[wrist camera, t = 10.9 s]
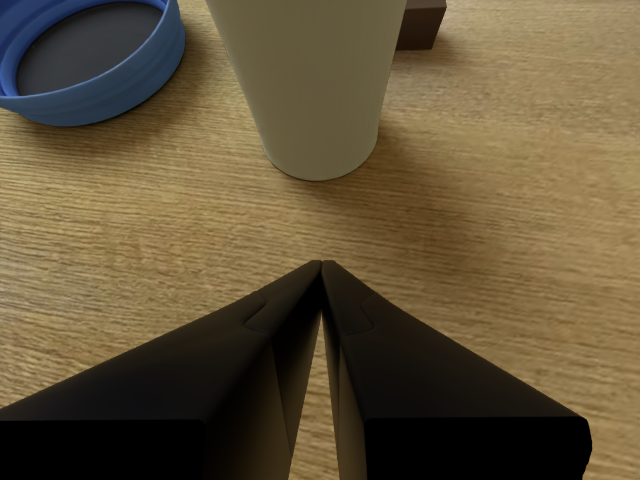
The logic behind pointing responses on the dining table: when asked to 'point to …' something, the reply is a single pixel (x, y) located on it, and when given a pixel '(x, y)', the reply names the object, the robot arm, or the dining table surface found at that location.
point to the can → (312, 76)
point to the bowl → (85, 56)
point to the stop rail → (420, 24)
